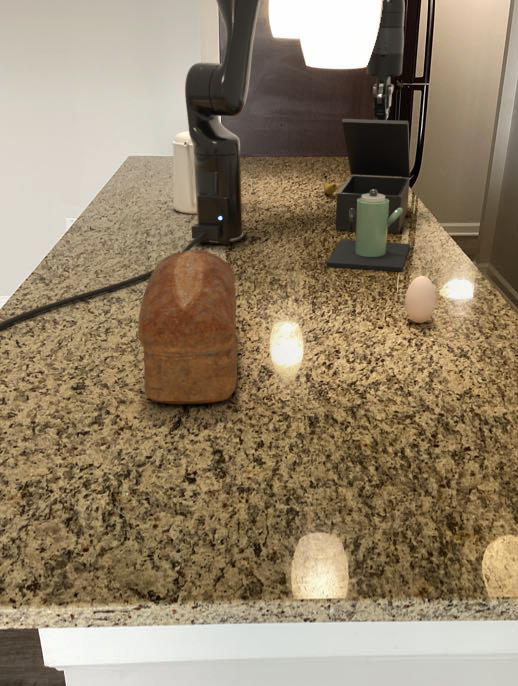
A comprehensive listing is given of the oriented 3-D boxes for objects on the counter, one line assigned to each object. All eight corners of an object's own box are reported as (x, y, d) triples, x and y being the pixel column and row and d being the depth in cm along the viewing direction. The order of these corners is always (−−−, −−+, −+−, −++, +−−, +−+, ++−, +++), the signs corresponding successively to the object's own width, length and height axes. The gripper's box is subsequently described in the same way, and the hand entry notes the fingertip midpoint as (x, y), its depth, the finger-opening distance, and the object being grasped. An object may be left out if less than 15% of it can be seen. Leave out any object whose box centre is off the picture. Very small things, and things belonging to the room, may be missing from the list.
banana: (338, 199, 195) (339, 183, 193) (329, 200, 195) (329, 183, 193) (329, 190, 204) (330, 175, 202) (320, 191, 203) (321, 175, 201)
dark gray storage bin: (398, 233, 167) (401, 196, 163) (335, 230, 170) (336, 193, 166) (407, 212, 184) (409, 177, 180) (349, 208, 187) (350, 175, 183)
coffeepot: (165, 223, 175) (158, 133, 166) (180, 197, 197) (175, 117, 188) (213, 223, 175) (209, 134, 166) (224, 197, 197) (221, 117, 188)
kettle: (401, 250, 154) (405, 187, 148) (398, 258, 148) (402, 194, 143) (350, 246, 156) (352, 184, 150) (345, 255, 150) (347, 191, 145)
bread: (138, 416, 95) (127, 310, 88) (158, 323, 122) (151, 236, 115) (239, 413, 95) (236, 307, 89) (237, 321, 122) (234, 234, 116)
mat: (401, 271, 144) (402, 267, 144) (326, 266, 147) (326, 262, 146) (409, 247, 158) (409, 243, 157) (340, 243, 161) (340, 239, 160)
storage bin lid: (407, 124, 160) (408, 120, 160) (341, 122, 163) (342, 118, 163) (409, 177, 180) (410, 174, 180) (350, 174, 182) (351, 171, 183)
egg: (409, 328, 119) (412, 281, 116) (399, 318, 123) (402, 272, 120) (438, 326, 120) (442, 279, 117) (427, 316, 124) (431, 270, 121)
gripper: (371, 48, 173) (367, 132, 181) (363, 52, 162) (359, 141, 170) (405, 49, 172) (400, 133, 180) (400, 52, 160) (394, 142, 169)
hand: (380, 136), depth 175 cm, fingers closed
